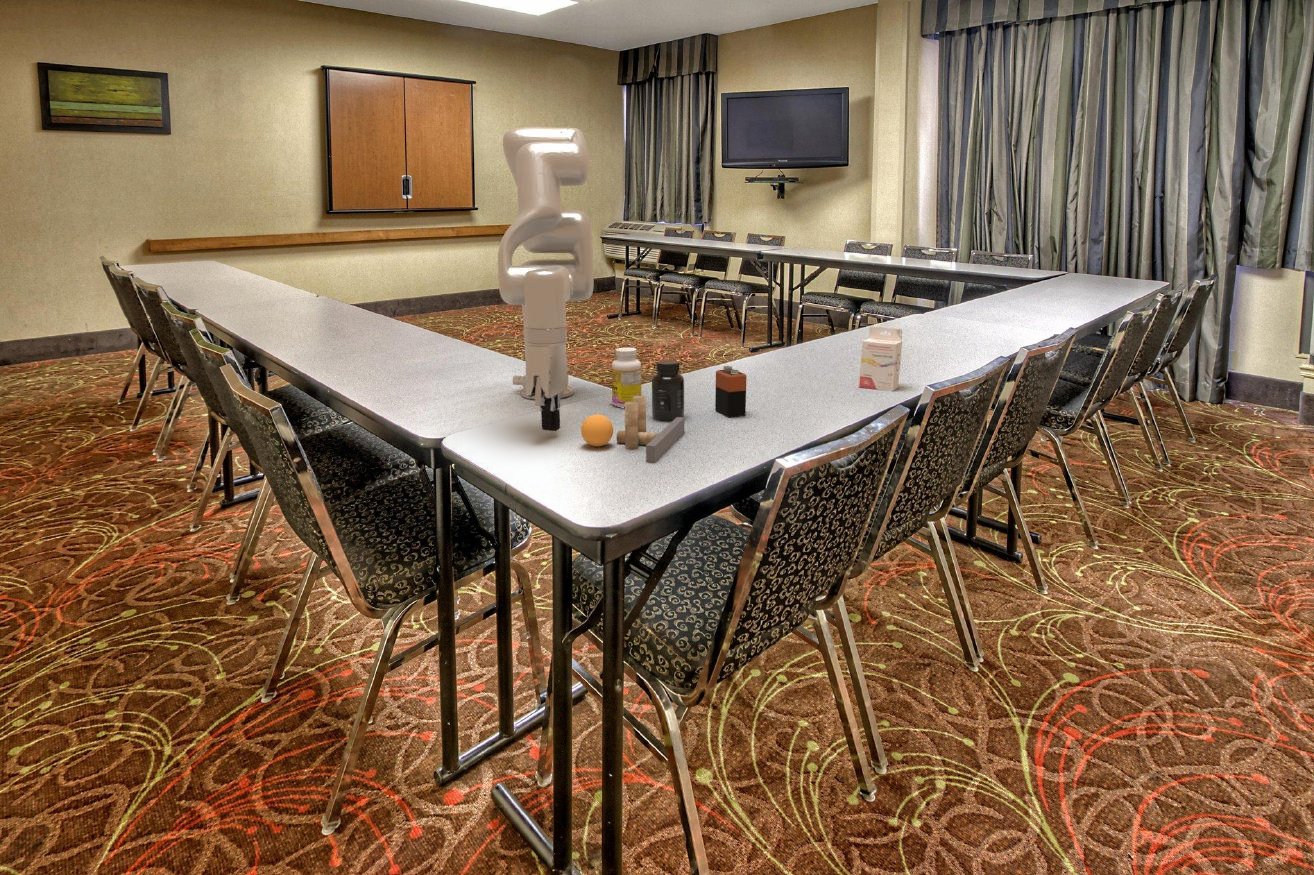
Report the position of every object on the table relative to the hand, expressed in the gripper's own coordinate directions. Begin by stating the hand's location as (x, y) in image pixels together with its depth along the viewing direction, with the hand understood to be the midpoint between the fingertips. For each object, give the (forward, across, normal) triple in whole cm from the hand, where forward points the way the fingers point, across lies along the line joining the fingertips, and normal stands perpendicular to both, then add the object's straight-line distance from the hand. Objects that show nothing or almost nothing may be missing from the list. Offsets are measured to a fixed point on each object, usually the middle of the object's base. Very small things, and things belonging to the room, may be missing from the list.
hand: (551, 429), depth 153 cm
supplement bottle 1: (+2, -28, +6) cm, 29 cm away
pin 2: (+2, -2, +18) cm, 18 cm away
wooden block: (0, 0, +14) cm, 14 cm away
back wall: (+2, 0, +24) cm, 24 cm away
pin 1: (+2, +2, +18) cm, 18 cm away
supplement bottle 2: (+2, -20, +18) cm, 27 cm away
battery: (+2, -27, +30) cm, 40 cm away
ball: (-2, +3, +11) cm, 12 cm away
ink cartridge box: (+2, -61, +60) cm, 86 cm away
